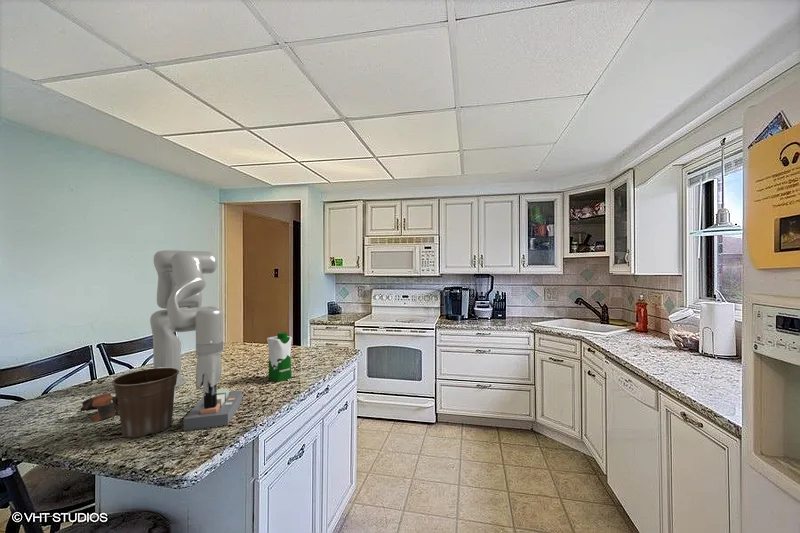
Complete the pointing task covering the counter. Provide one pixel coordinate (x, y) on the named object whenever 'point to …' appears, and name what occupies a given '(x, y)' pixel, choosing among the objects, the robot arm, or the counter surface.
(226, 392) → the sage key
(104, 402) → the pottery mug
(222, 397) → the cream key
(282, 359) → the milk carton
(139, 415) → the plant pot
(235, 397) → the keypad
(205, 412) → the terracotta key
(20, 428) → the counter surface
